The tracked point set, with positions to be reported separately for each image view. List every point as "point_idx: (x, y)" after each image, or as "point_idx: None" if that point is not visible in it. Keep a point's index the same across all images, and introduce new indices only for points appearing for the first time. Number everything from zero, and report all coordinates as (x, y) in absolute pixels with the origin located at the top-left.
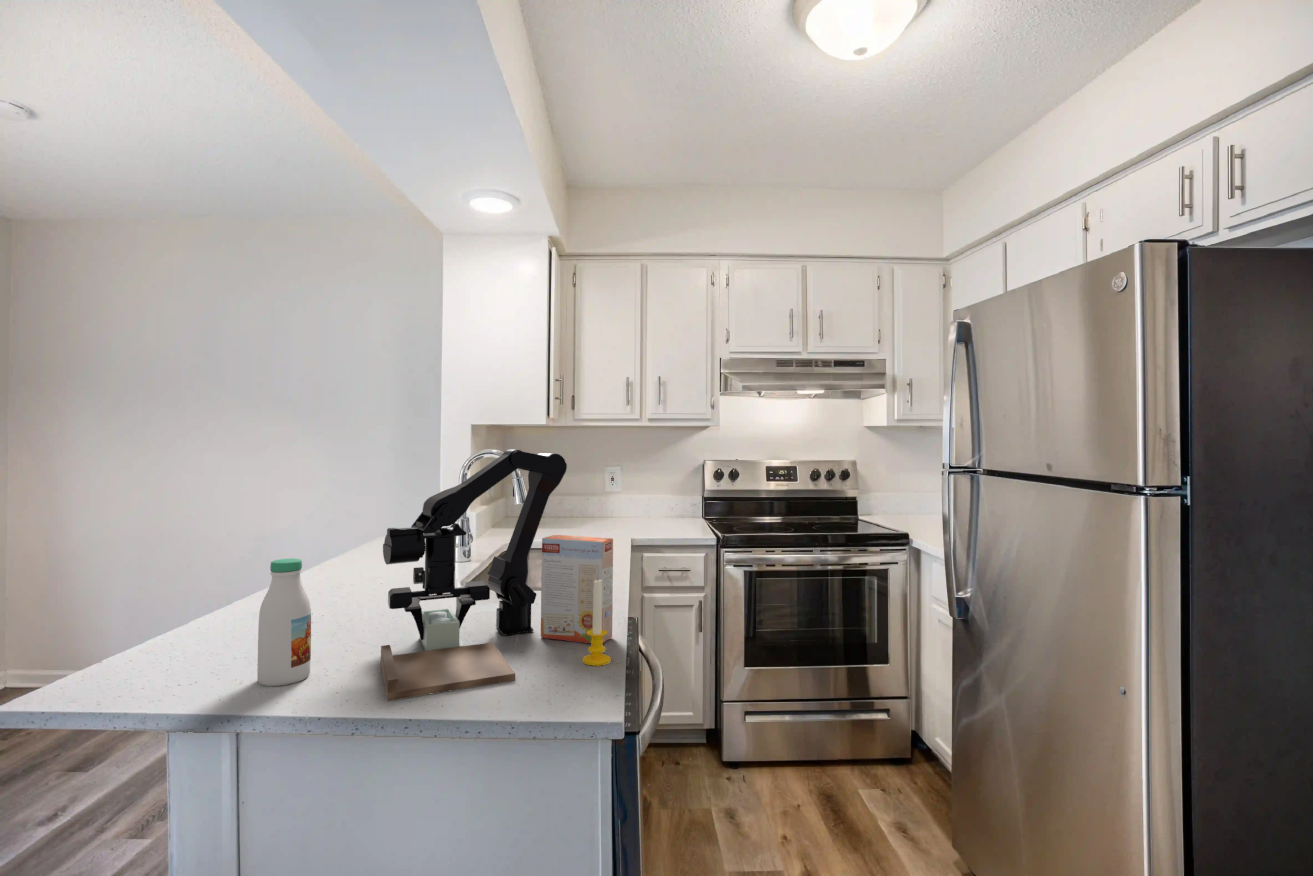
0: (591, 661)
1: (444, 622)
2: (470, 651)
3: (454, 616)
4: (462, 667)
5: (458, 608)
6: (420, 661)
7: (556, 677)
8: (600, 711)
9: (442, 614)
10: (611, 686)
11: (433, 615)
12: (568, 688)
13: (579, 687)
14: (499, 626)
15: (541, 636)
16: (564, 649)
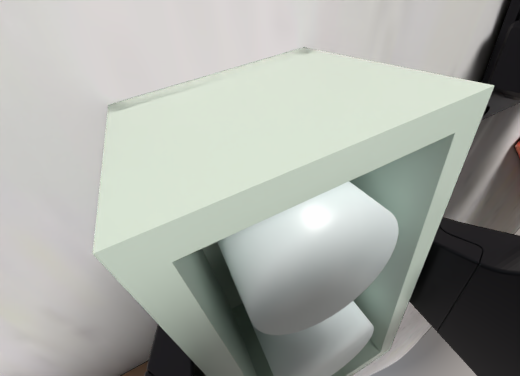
0: None
1: (337, 370)
2: None
3: (403, 304)
4: None
5: (472, 327)
6: None
7: (410, 314)
8: (399, 354)
9: (360, 279)
10: None
11: (295, 316)
12: (403, 332)
13: (413, 326)
14: (508, 93)
15: (518, 148)
16: (486, 217)
